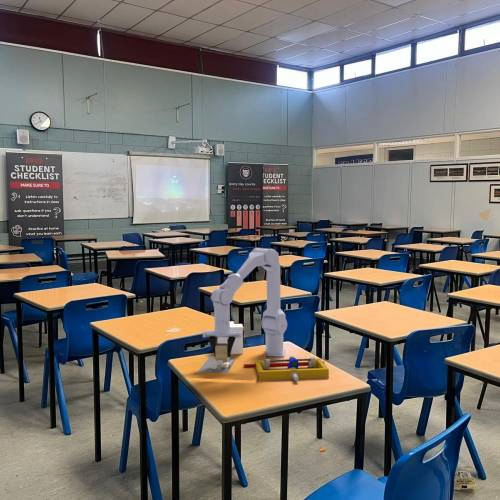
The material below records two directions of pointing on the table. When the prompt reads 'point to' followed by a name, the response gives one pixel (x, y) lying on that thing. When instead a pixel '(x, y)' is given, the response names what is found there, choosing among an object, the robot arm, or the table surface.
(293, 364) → the mechanical clamp
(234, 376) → the table surface
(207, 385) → the table surface
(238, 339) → the corner bracket
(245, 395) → the table surface
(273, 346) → the robot arm
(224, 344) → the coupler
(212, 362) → the shaft stand
